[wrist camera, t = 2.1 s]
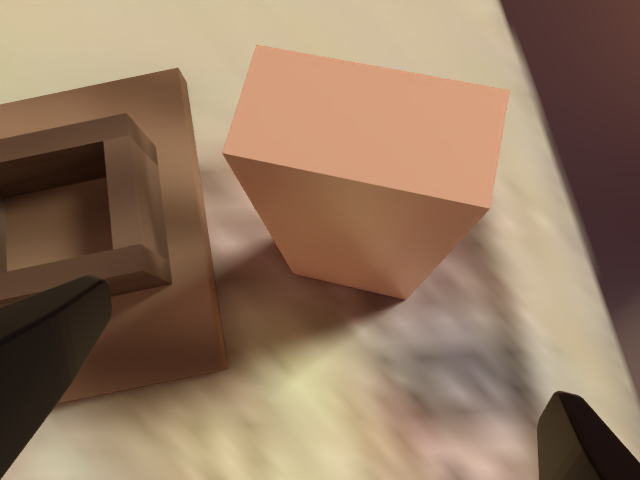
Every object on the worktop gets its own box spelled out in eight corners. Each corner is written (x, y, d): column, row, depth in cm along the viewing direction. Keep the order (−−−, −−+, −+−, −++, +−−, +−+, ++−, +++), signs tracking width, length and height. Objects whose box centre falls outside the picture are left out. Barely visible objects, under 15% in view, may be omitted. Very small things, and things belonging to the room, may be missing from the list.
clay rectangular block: (405, 299, 21) (490, 208, 8) (293, 273, 21) (222, 152, 9) (416, 246, 21) (509, 90, 9) (306, 222, 22) (255, 44, 10)
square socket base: (227, 368, 20) (197, 370, 16) (-28, 421, 20) (-122, 436, 16) (186, 82, 24) (153, 23, 20) (-31, 127, 24) (-109, 78, 20)
